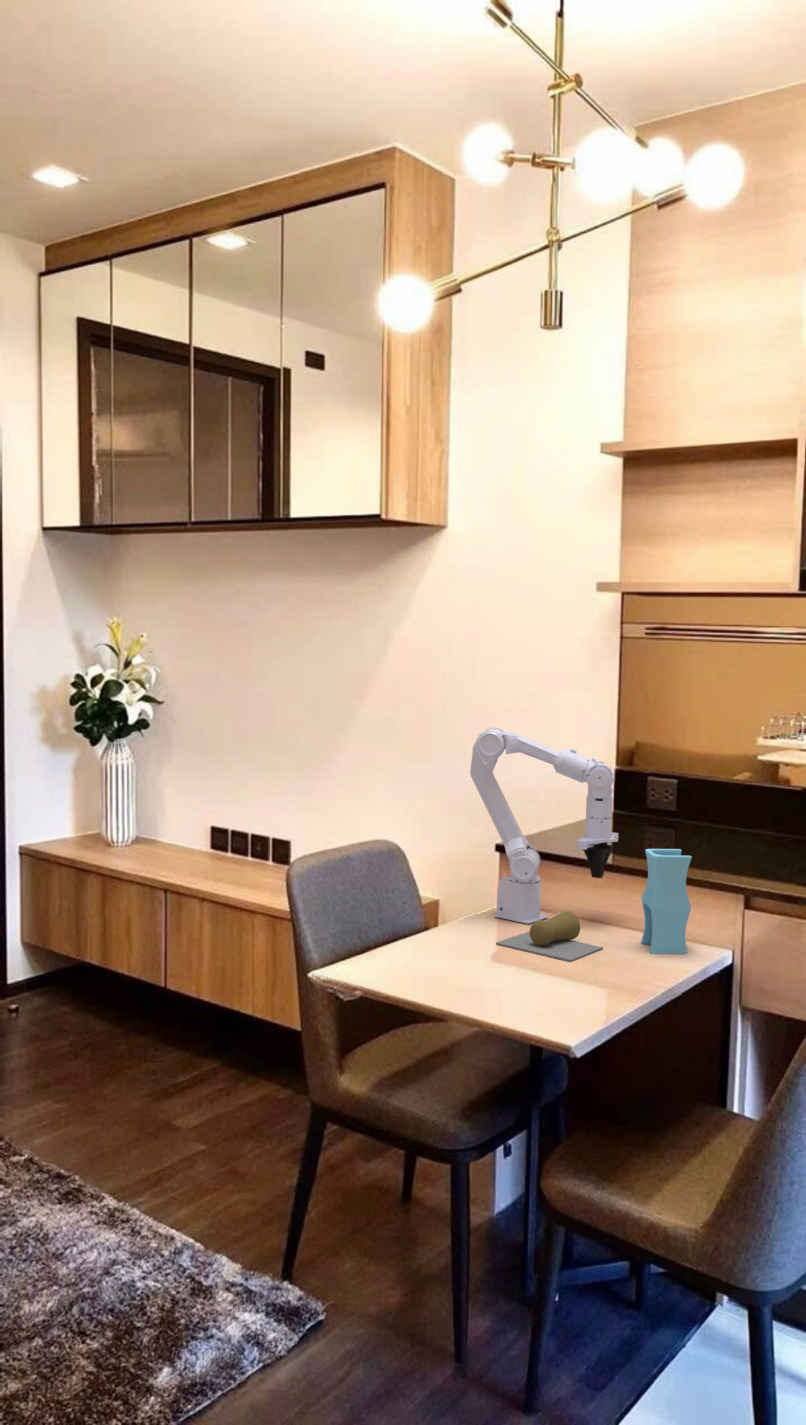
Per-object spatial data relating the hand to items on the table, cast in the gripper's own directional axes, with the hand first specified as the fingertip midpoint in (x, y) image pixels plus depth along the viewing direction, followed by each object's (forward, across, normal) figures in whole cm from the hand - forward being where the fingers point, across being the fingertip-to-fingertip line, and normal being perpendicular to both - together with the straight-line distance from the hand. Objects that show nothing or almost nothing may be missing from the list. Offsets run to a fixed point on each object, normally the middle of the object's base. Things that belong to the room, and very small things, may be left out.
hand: (597, 877), depth 244 cm
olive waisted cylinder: (+7, -16, -3) cm, 18 cm away
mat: (+10, -24, -3) cm, 26 cm away
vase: (+11, -8, -21) cm, 25 cm away
